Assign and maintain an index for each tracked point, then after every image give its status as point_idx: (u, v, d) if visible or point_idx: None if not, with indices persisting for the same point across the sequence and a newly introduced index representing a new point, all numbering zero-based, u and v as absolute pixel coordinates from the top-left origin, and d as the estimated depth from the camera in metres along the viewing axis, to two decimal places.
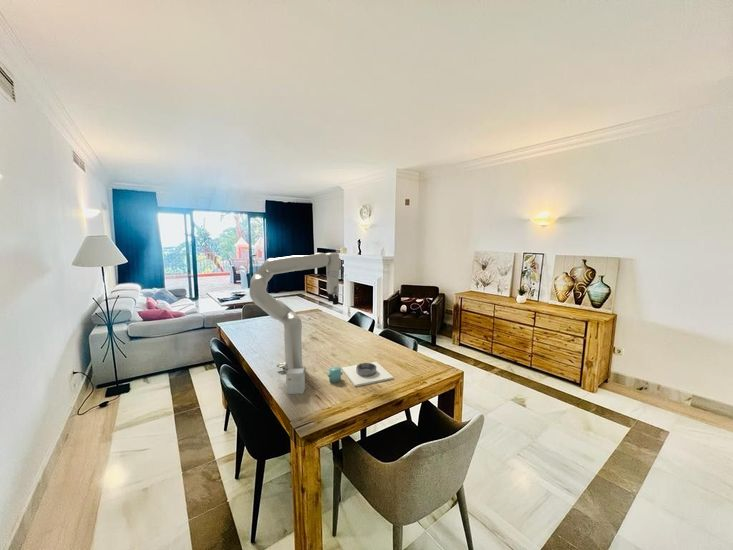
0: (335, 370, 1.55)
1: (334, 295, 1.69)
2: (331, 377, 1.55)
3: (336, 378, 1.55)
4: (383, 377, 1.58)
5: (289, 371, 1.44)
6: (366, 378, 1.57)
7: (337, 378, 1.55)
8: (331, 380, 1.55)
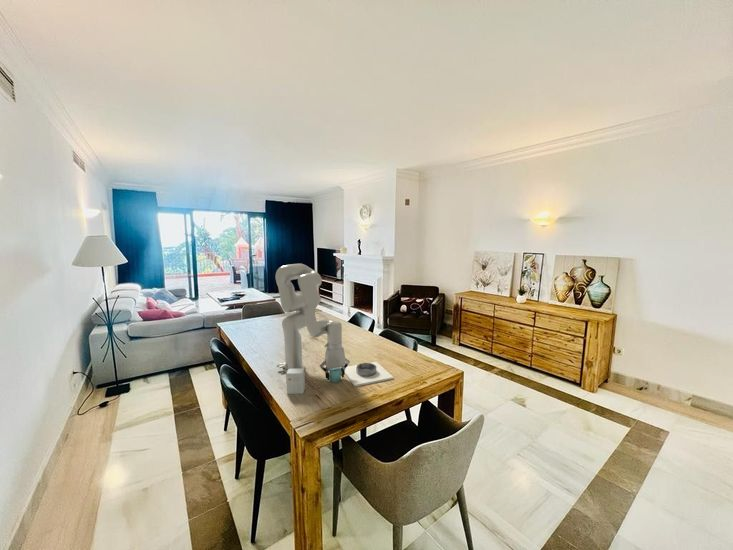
0: (335, 370, 1.55)
1: (344, 367, 1.58)
2: (331, 377, 1.55)
3: (336, 378, 1.55)
4: (383, 377, 1.58)
5: (289, 371, 1.44)
6: (366, 378, 1.57)
7: (337, 378, 1.55)
8: (331, 380, 1.55)
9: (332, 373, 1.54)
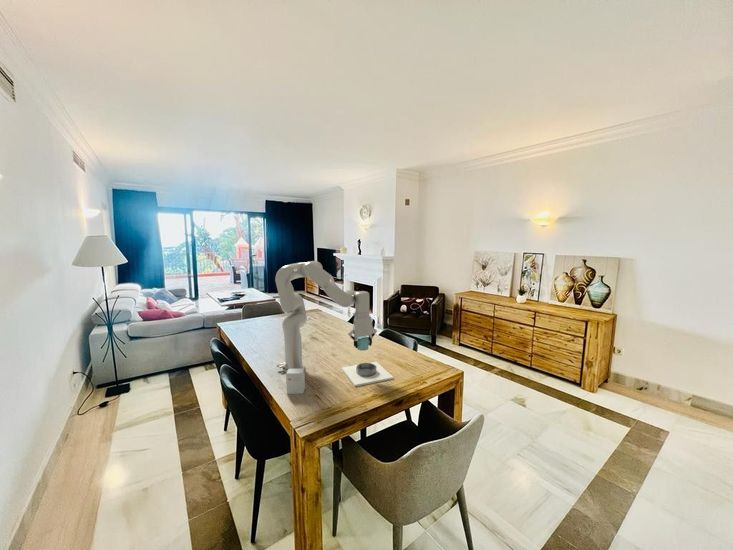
0: (363, 338, 1.59)
1: (371, 335, 1.62)
2: (359, 345, 1.59)
3: (364, 346, 1.59)
4: (383, 377, 1.58)
5: (289, 371, 1.44)
6: (366, 378, 1.57)
7: (365, 346, 1.59)
8: (359, 348, 1.59)
9: (360, 341, 1.58)
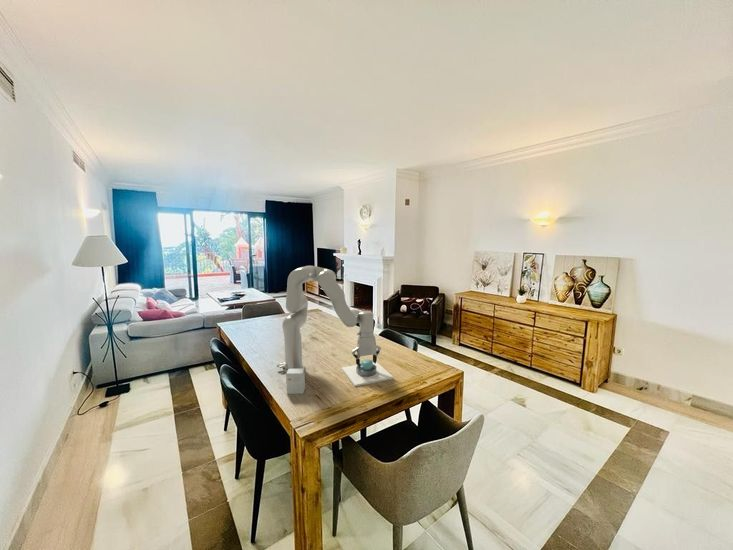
0: (367, 362, 1.62)
1: None
2: (364, 369, 1.62)
3: None
4: (383, 377, 1.58)
5: (289, 371, 1.44)
6: (366, 378, 1.57)
7: None
8: None
9: (365, 365, 1.61)
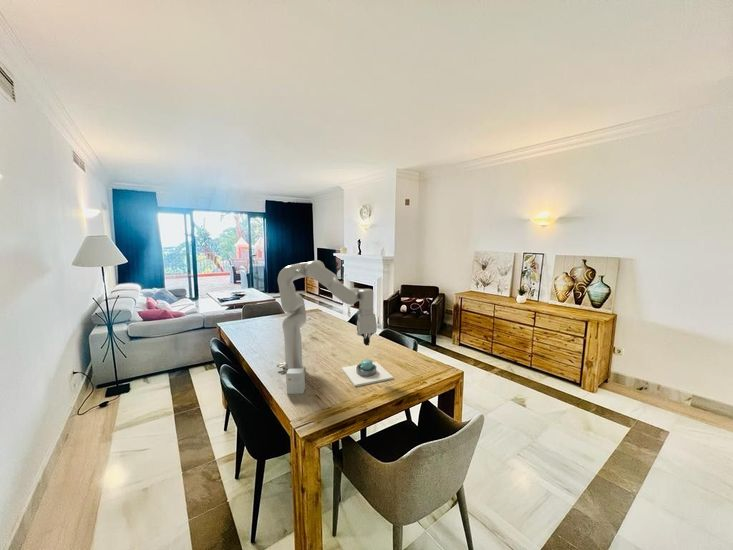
0: (367, 362, 1.62)
1: None
2: (364, 369, 1.62)
3: None
4: (383, 377, 1.58)
5: (289, 371, 1.44)
6: (366, 378, 1.57)
7: None
8: None
9: (365, 365, 1.61)
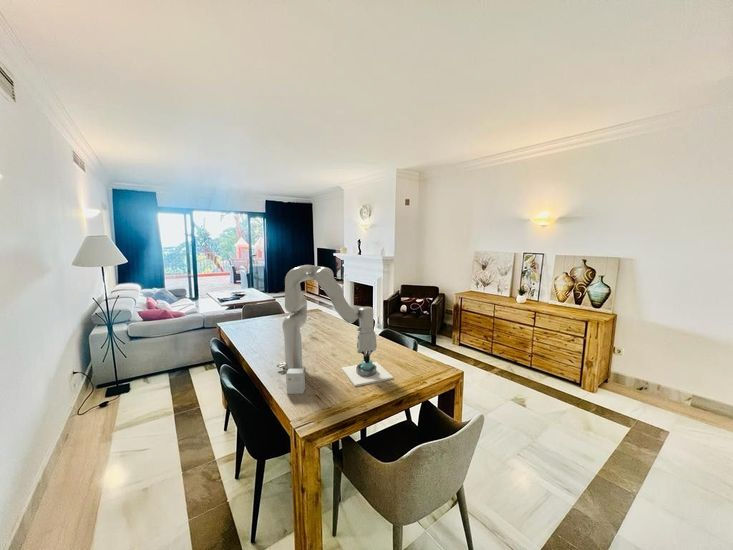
0: None
1: None
2: (364, 369, 1.62)
3: None
4: (383, 377, 1.58)
5: (289, 371, 1.44)
6: (366, 378, 1.57)
7: None
8: None
9: (365, 365, 1.61)
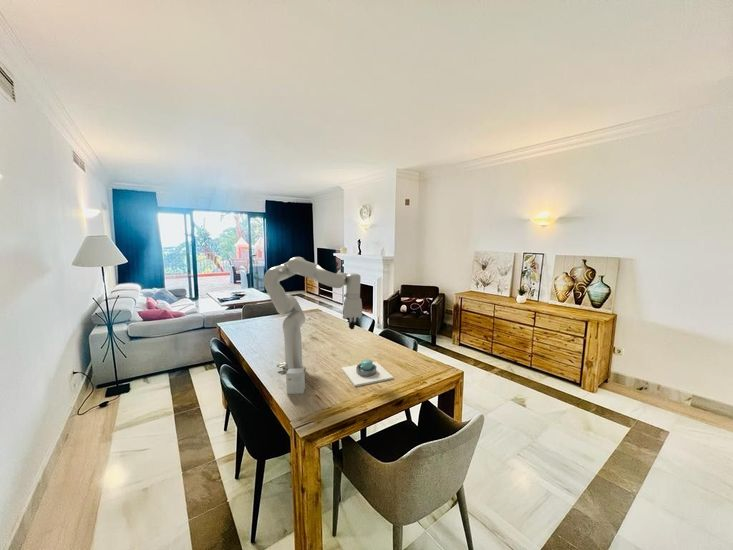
0: (367, 362, 1.62)
1: (355, 320, 1.65)
2: (364, 369, 1.62)
3: None
4: (383, 377, 1.58)
5: (289, 371, 1.44)
6: (366, 378, 1.57)
7: None
8: None
9: (365, 365, 1.61)
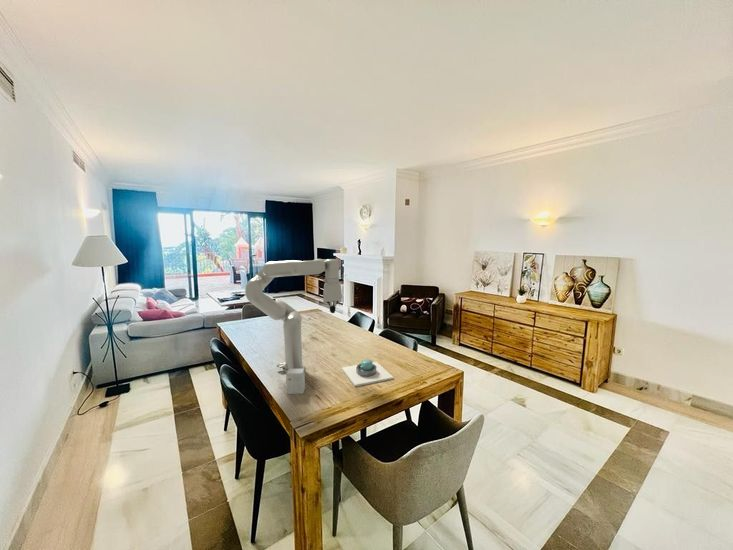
0: (367, 362, 1.62)
1: (336, 303, 1.70)
2: (364, 369, 1.62)
3: None
4: (383, 377, 1.58)
5: (289, 371, 1.44)
6: (366, 378, 1.57)
7: None
8: None
9: (365, 365, 1.61)
